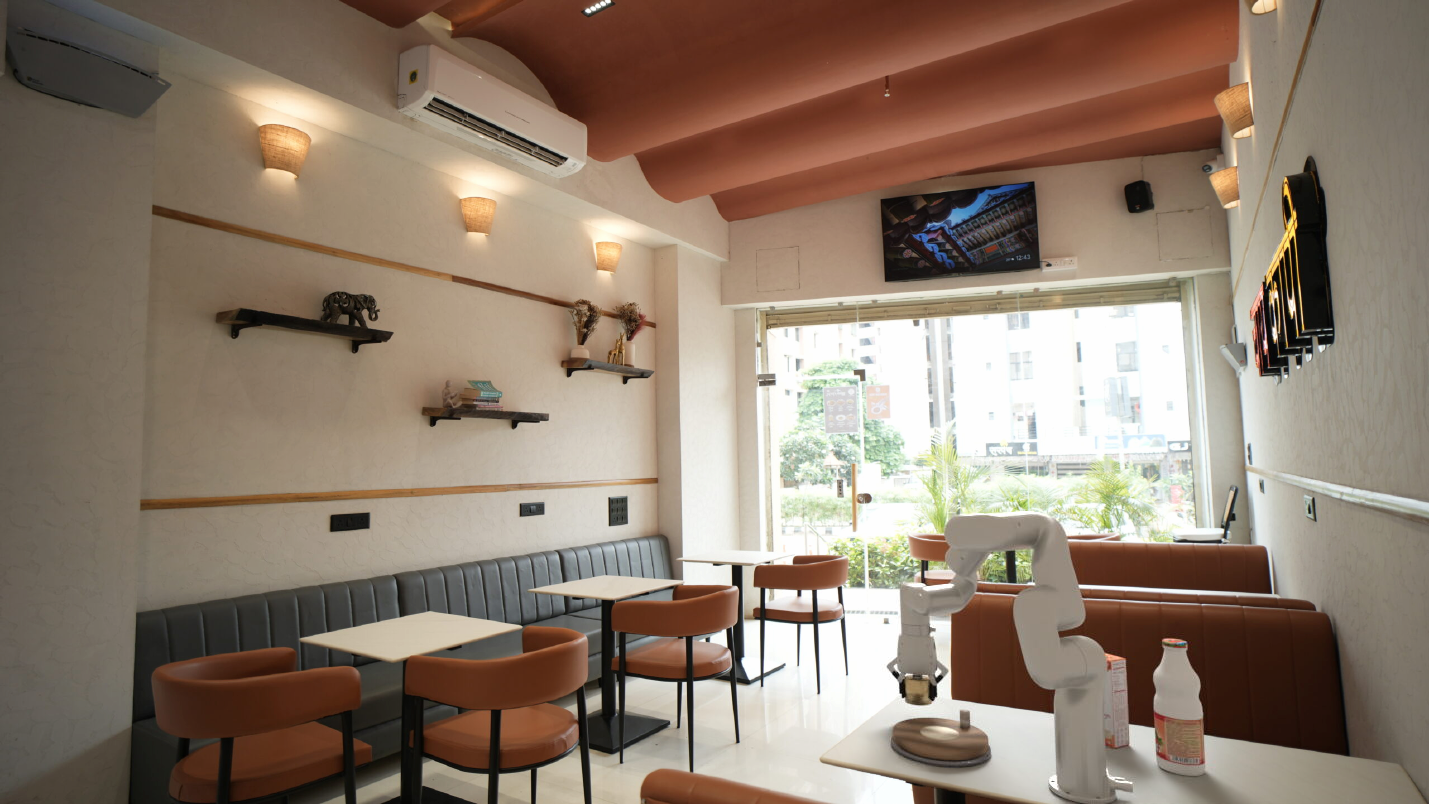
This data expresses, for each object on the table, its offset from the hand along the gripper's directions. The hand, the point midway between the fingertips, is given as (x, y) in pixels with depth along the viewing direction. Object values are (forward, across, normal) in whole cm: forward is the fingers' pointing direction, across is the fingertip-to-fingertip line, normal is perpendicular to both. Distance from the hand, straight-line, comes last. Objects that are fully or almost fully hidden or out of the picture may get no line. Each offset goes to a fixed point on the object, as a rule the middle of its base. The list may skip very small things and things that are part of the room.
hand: (918, 697), depth 198 cm
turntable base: (+6, -7, +18) cm, 20 cm away
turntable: (+5, -7, +18) cm, 20 cm away
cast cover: (+1, 0, 0) cm, 1 cm away
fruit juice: (+7, -58, +8) cm, 59 cm away
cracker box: (+7, -42, -4) cm, 43 cm away
